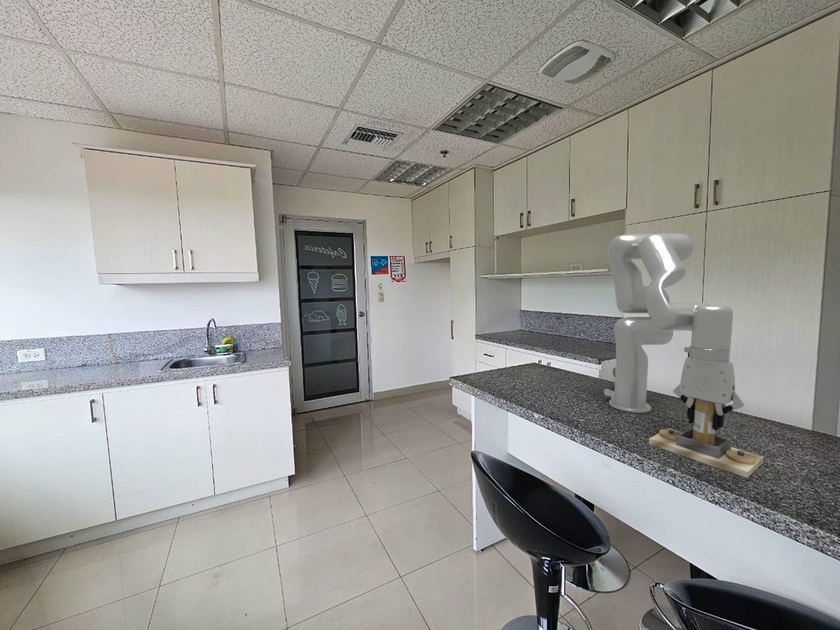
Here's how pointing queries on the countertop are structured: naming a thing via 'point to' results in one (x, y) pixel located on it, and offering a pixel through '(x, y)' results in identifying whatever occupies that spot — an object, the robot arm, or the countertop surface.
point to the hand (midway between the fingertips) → (704, 424)
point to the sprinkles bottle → (704, 422)
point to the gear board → (708, 451)
